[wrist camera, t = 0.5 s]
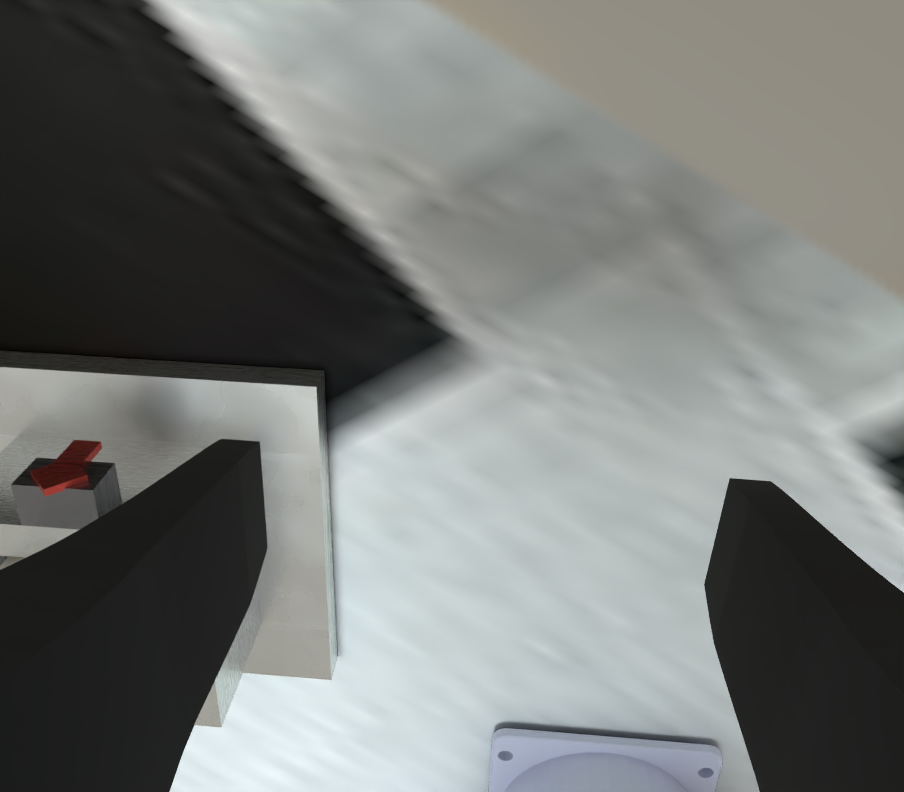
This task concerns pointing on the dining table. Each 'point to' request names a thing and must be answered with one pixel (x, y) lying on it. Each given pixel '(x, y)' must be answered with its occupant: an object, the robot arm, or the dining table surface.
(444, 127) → the dining table surface
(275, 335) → the dining table surface
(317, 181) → the dining table surface
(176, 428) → the stand
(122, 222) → the dining table surface
